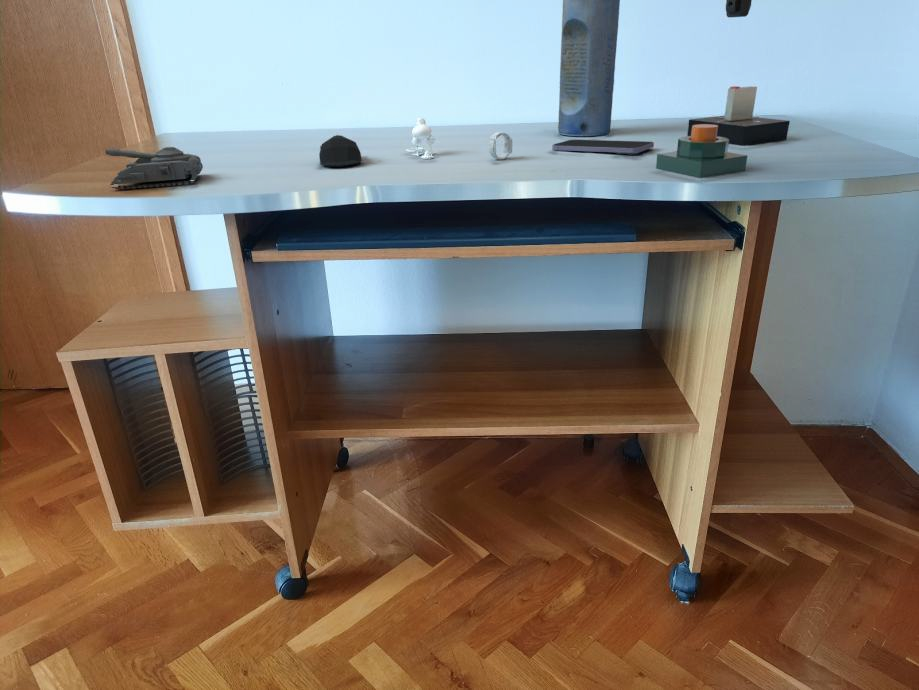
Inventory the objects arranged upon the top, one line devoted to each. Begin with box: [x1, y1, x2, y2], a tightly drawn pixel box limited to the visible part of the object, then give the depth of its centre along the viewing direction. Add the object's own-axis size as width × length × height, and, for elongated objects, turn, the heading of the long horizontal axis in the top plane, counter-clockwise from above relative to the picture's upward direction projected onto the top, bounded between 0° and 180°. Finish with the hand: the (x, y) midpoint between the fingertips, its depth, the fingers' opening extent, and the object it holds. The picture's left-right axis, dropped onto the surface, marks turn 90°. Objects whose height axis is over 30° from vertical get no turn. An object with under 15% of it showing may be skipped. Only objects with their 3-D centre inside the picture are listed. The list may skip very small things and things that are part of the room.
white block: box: [724, 85, 758, 121], centre depth 105 cm, size 5×1×5 cm, turn 116°
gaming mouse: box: [318, 134, 362, 168], centre depth 102 cm, size 6×15×4 cm, turn 12°
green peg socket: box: [655, 135, 748, 179], centre depth 85 cm, size 8×8×4 cm
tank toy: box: [104, 146, 204, 190], centre depth 90 cm, size 12×10×5 cm
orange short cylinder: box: [691, 124, 718, 141], centre depth 84 cm, size 3×3×2 cm
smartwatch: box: [487, 131, 513, 161], centre depth 98 cm, size 4×2×4 cm, turn 123°
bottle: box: [557, 0, 621, 137], centre depth 113 cm, size 10×10×30 cm
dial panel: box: [686, 115, 791, 147], centre depth 107 cm, size 12×10×3 cm
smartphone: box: [551, 139, 655, 156], centre depth 102 cm, size 7×1×15 cm
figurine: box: [406, 117, 437, 160], centre depth 104 cm, size 5×10×6 cm, turn 8°
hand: (737, 16), depth 80 cm, fingers closed
